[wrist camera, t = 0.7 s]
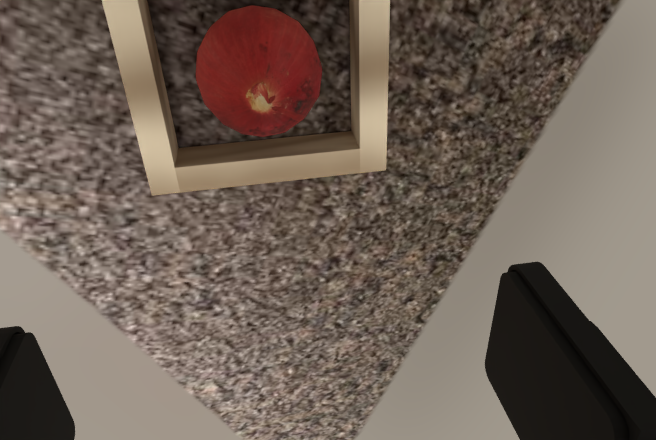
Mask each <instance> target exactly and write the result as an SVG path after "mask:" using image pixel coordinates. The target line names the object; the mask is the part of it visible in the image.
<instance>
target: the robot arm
mask: <svg viewBox="0 0 656 440" xmlns="http://www.w3.org/2000/svg"><path fill="white" fill-rule="evenodd" d="M485 369H486V373H487V376H488V379H489V381H490V383H491V384H492V387H493V389H494V390H495V392H496V394H497V396H498V398H499V400H500V402H501V404H502V406H503V408H504V410H505V412H506V414H507V416H508V418H509V419H510V421H511V423H512V425H513V427H514V429H515V431H516V433H517V435H518V437H519V439H520V440H656V398H655V396H654V395H653V394H652V393H651V392H650V390H649V389H648V388H647V387H646V385H645V384H644V383H643V382H642V381H641V380H640V378H639V377H638V376H637V375H636V374H635V372H634V371H633V370H632V369H631V367H630V366H629V365H628V364H627V362H626V361H625V360H624V359H623V358H622V356H621V355H620V354H619V353H618V352H617V350H616V349H615V348H614V347H613V346H612V344H611V343H610V342H609V341H608V340H607V338H606V337H605V336H604V335H603V333H602V332H601V331H600V330H599V329H598V327H596V326H595V325H594V324H593V323H592V322H591V321H589V320H588V319H587V318H586V316H585V315H584V314H583V313H582V312H581V310H580V309H579V308H578V307H577V305H576V304H575V303H574V302H573V301H572V299H571V298H570V297H569V296H568V294H567V293H566V292H565V291H564V289H563V288H562V287H561V286H560V285H559V283H558V282H557V281H556V280H555V279H554V277H553V276H552V275H551V274H550V272H549V271H548V270H547V269H546V267H545V266H544V265H543V264H542V263H540V262H532V263H523V264H516V265H511V266H510V267H509V269H508V272H507V273H503V274H502V276H501V278H500V284H499V289H498V294H497V300H496V305H495V310H494V316H493V321H492V327H491V332H490V337H489V343H488V349H487V353H486V359H485ZM74 437H75V425H74V421H73V419H72V416H71V414H70V412H69V410H68V407H67V405H66V403H65V401H64V399H63V397H62V394H61V393H60V390H59V388H58V386H57V384H56V381H55V379H54V377H53V375H52V373H51V371H50V369H49V366H48V364H47V362H46V360H45V358H44V356H43V353H42V351H41V349H40V347H39V345H38V343H37V340H36V338H35V336H34V335H33V334H32V333H25V332H24V330H23V329H22V328H21V327H19V326H15V327H7V328H0V440H74Z"/></svg>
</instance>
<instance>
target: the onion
mask: <svg viewBox="0 0 656 440" xmlns="http://www.w3.org/2000/svg"><path fill="white" fill-rule="evenodd" d="M321 77H322V66H321V63H320V59H319V56H318V53H317V50H316V47H315V44H314V41H313V39H312V38H311V37H310V36H309V34H308V33H307V32H306V31H305V29H304V28H303V27H302V26H301V24H300V23H299V22H298V21H297V20H295V19H293V18H291V17H289V16H288V15H286V14H284V13H282V12H281V11H279V10H277V9H274V8H267V7H261V6H254V5H250V6H246V7H242V8H238V9H235V10H231V11H228V12H227V13H226V14H224V15H223V16H222V17H221V18H220V19H219V20H217V21H216V22H215V23H214V24H213V25H211V26H210V28H209V29H208V31H207V33H206V35H205V37H204V39H203V41H202V43H201V45H200V47H199V49H198V51H197V62H196V81H197V84H198V87H199V90H200V92H201V95H202V98H203V101H204V104H205V105H206V106H207V107H208V108H209V109H210V110H211V112H212V113H213V114H214V115H215V116H216V117H217V118H218V119H219V120H220V121H221V122H222V123H223V124H224V125H226V126H228V127H230V128H232V129H234V130H236V131H237V132H239V133H241V134H246V135H253V136H260V137H265V136H270V135H275V134H281V133H285V132H286V131H288V130H289V129H290V128H292V127H293V126H295V125H296V124H298V123H299V122H300V121H302V120H303V119H304V118H305V117H306V116H307V114H308V113H309V111H310V109H311V108H312V106H313V105H314V103H315V102H316V100H317V98H318V97H319V93H320V85H321Z"/></svg>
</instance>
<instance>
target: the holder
mask: <svg viewBox="0 0 656 440" xmlns="http://www.w3.org/2000/svg"><path fill="white" fill-rule="evenodd" d="M102 3H103V7H104V11H105V15H106V19H107V22H108V26H109V30H110V34H111V38H112V42H113V46H114V50H115V54H116V57H117V61H118V65H119V69H120V73H121V77H122V81H123V85H124V89H125V92H126V96H127V100H128V104H129V108H130V112H131V116H132V120H133V123H134V127H135V131H136V135H137V139H138V143H139V147H140V151H141V155H142V158H143V162H144V166H145V170H146V174H147V178H148V182H149V186H150V190H151V193H152V195H161V194H170V193H180V192H189V191H198V190H207V189H217V188H226V187H235V186H244V185H254V184H263V183H272V182H281V181H291V180H300V179H309V178H318V177H327V176H337V175H346V174H355V173H364V172H374V171H383V170H386V151H387V108H388V66H389V23H390V0H349V14H350V76H351V131H345V132H335V133H325V134H315V135H305V136H295V137H285V138H275V139H265V140H255V141H245V142H235V143H224V144H214V145H204V146H194V147H184V148H179V147H178V143H177V138H176V133H175V128H174V124H173V119H172V114H171V110H170V105H169V100H168V96H167V91H166V86H165V82H164V77H163V72H162V67H161V63H160V58H159V53H158V49H157V44H156V39H155V35H154V30H153V25H152V20H151V16H150V11H149V6H148V2H147V0H102Z"/></svg>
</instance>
